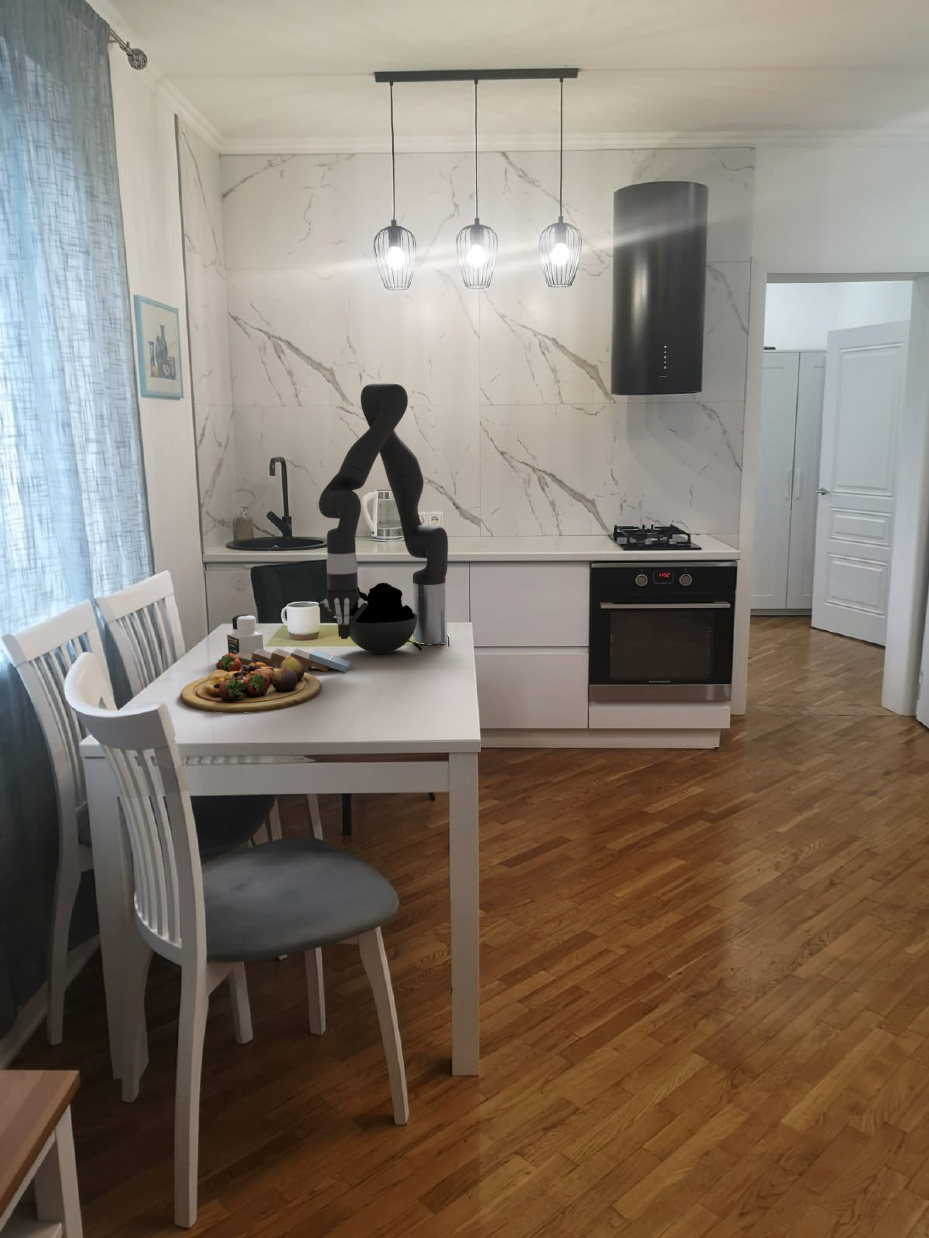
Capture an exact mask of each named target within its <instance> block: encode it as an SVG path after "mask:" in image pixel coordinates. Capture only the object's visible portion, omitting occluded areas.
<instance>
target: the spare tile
mask: <svg viewBox="0 0 929 1238" xmlns="http://www.w3.org/2000/svg"><path fill="white" fill-rule="evenodd" d="M309 653H310V655H309V658H308V660H311V661H314V662H317V663H320V664H323V665H326V666H329V667H331V668H333V669H334V670H337V671H340V672H344V673H346V672H347V671H348V670H349V669H350V668H349V667H351V663H352V661H350V660H347V659H344V658H343V657H342V658H341V657H339V656H335V655H333V654H330V653H327V652H325V651H321V650H318V649H316V648H314V649H313V650H312V651H311V652H309ZM348 668H349V669H348Z"/></svg>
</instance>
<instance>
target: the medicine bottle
mask: <svg viewBox="0 0 929 1238" xmlns="http://www.w3.org/2000/svg"><path fill="white" fill-rule="evenodd" d="M256 620H257V619H256V616H254V615H252V614H238V615H235V616H233V617H232V619H231V621H232V622H231V623H232V632H228V633H227V639H226V640H227V651H228V653H227V654H229V653H232V654H235V655H236V654H238V653H239V652H243V653H247V654H251V655H252V654H253V652H255V651H256V650H257V649H261V650H264V637H263V636H264V635H263V633H260V632H257V622H256ZM264 651H265V650H264Z"/></svg>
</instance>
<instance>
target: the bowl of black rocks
mask: <svg viewBox="0 0 929 1238" xmlns="http://www.w3.org/2000/svg"><path fill="white" fill-rule="evenodd" d="M358 592H359V594H360V598H361V599H363V600H364V601H367V602H368V606H367V607H366V608H365V610H364V611H363V612H362V614H361V615H360V616H359V618H358V619H357V620H356V621H355V622H352V623H350V633H351V634H350V636H349V637H348V638H350V640H351V641H352V642H353V643H354V644H355V645H357V647H360V649H362V650H365V651H366V652H370V653H373V654H386V653H391V652H395V651H397V650H399V649H400V648H402V647H403V646H404V645H405V644H406V643H407V642H409V640H410V639H411V638H412V636H413V635H414V630H415V628H416V624H417V615H416V614H415V613H414V611H413V609H412V608H411V606H410V605H408V604H404V605H403V602H402V597H403V591H402V590H401V589H399V588H397V587H395V586H392V584H390V583H388V582H379V583H377V584H376V585H375V586H373V587H371V588H369V592H368V593H367V594H366V593H365V592H362V591H361V590H360V587H358ZM358 604H359V603H358V602H357V603H356V605H355V606H354V608H353V609H352V610H351V617H353V616H354V615H355V613H356V612H357V611H358V609H359V607H358Z"/></svg>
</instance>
